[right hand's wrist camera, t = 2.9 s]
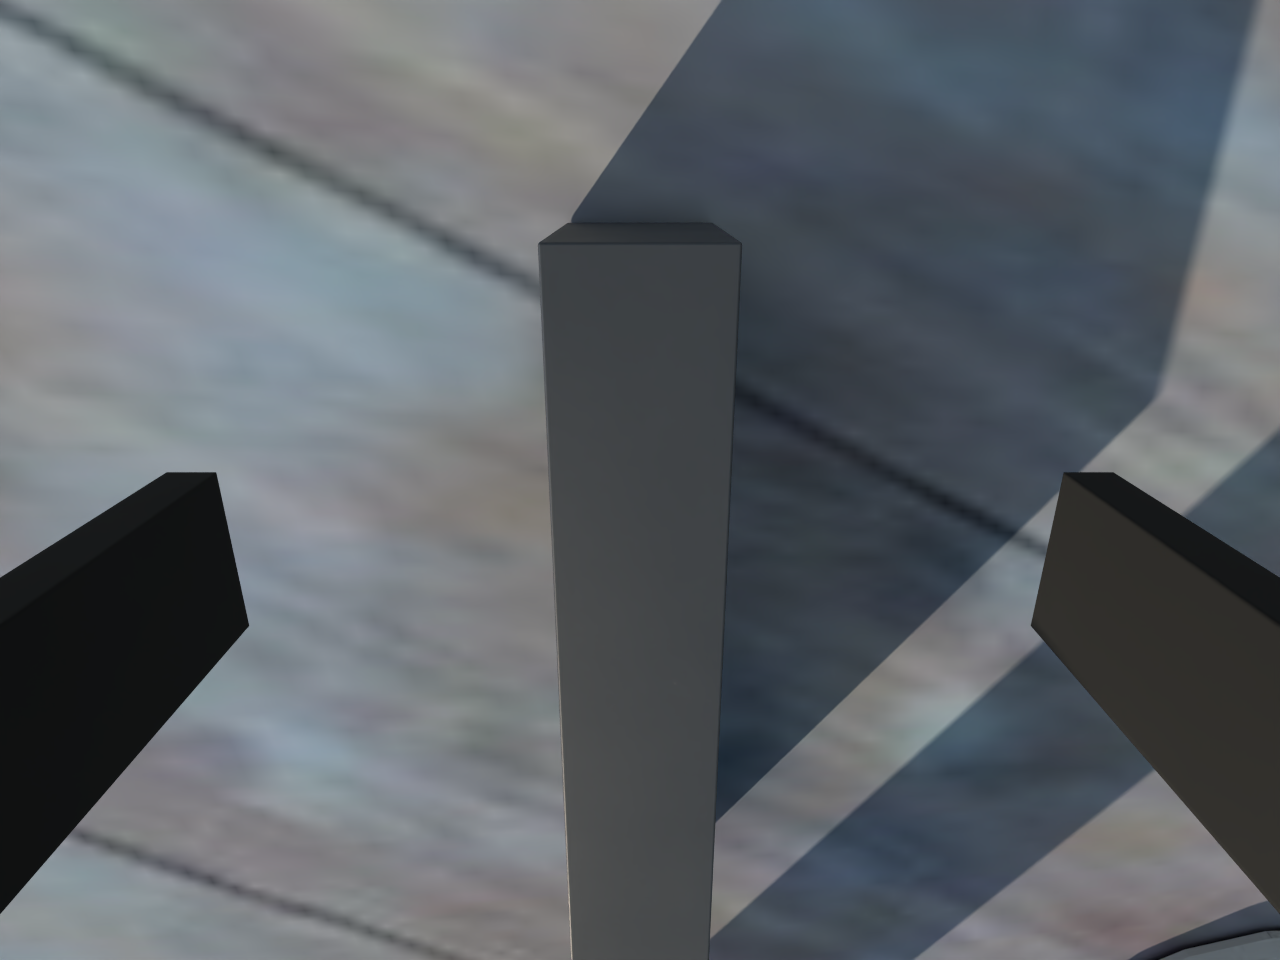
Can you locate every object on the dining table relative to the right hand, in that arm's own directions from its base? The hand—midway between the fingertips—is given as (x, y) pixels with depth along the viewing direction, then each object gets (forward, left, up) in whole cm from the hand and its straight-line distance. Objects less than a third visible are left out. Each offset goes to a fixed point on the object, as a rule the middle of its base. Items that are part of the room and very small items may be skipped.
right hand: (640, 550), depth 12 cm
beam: (+10, 0, -17) cm, 19 cm away
